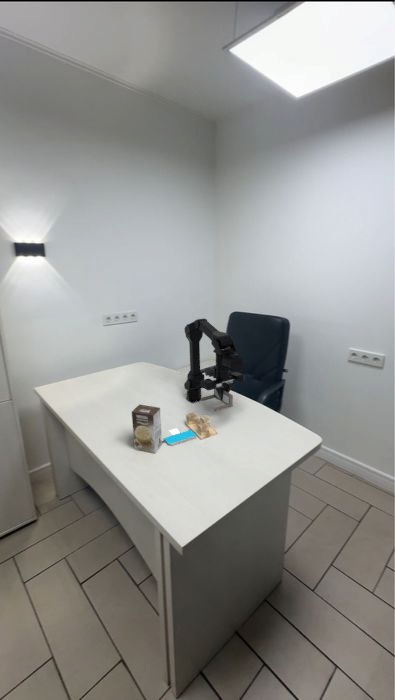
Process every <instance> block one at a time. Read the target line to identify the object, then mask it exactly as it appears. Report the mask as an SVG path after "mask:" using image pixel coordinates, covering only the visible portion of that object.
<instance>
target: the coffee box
mask: <svg viewBox="0 0 395 700" xmlns="http://www.w3.org/2000/svg"><path fill="white" fill-rule="evenodd" d="M161 418H162V417H161V408H160V407H157V406H152V405H147V404H146V405H144V404H140V403H139V404H138V405H137V406H136V407H135V408H134V409H133V410H131V420H132V432H133V433H132V434H133V445H134V450H136V451H142V452H147V453H151V454H156V453H157V452H158V450H159V449H160V448H161V447H162V445H163V443H162V441H163V438H162V420H161Z"/></svg>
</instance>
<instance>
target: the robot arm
mask: <svg viewBox="0 0 395 700" xmlns="http://www.w3.org/2000/svg"><path fill="white" fill-rule="evenodd" d="M184 333H185V338H186V339H187V341H188V343H189V345H188V346H189V362H190V363H189V366H190V368H189V371H188V373H187V378H186V381H185V382H184V384H183V385H184V389H185V390H186V400H188V402H190V403H191V404H192V403H193V404H194V403H197V402H201V401H200V398H202V389H204V390H206V391H212V390H213V391H214V389H216V390H217V393H218V395H219V398H220V400H222V399H223V392H224V391H226V392H228V393H230V391H231V390H232V389H233V387H234V386H235V385H236V384H235V383H234V381H237V382H238V383H243V382H245V376H244V374H242V373H240V371H241V370H242V368H243V365H244V361H243V359H242V358H241V357H239V356H240V355H239V354H238V353H237V351H238V350H237V347H236V344H235V343H234V340H233V338H232V336H231V335H230V334H229V333H228V332H227V333H226V332H225V331H224V332H223V331H220V330H218V329H217V328H216V327H215V326H214V325H212V323H210V322H209V321H208V319H207V318H198V319H197V318H196V320H194V321H192V322H190V323H188V324H186V325H185V326H184ZM204 335H205V336H206V337H208V339H209V340H210V341H211V345H212V347H213V349H214V350H213V353H215V365H214V367H213V368H211V367H207V368H206V367H205V369H204V373H203V372H202V371H201V356H200V355H201V354H200V353H201V352H200V351H201V350H200V347H201V345H200V342H201V340H202V338H203V336H204ZM205 376H206V377H207V376H208V377H209V378H205ZM210 377H212V379H214V380H212V379H211V378H210Z"/></svg>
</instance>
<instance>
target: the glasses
mask: <svg viewBox="0 0 395 700" xmlns="http://www.w3.org/2000/svg"><path fill="white" fill-rule="evenodd" d="M233 397H234V396H233V394H231V393H230V392H229V393H228V392H226V391H224V392H223V399H222V400H220V398H219V395H218V393H217V390H216V389H213V394H210V395H207V396H203V397H201V398H200V401H199V402H204V401H208V400H212V399H216V400H218V401H219V402H221V403H222V404H223V405H219V406H216V407H214V409H213V411H214V412H218V411H222V410H225V409H229V408H232V407H233V406H234V405H233V404H234V399H233Z"/></svg>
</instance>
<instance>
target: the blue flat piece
mask: <svg viewBox="0 0 395 700" xmlns="http://www.w3.org/2000/svg"><path fill="white" fill-rule="evenodd" d="M168 432H169V433H170V434H171V435H169V436H166V437H163V439H162V444H166V445H169V446H170V447H174V446H177V445H180V444H183V443H187V442H188V441H193V440H195V439H196V438H197V436H196V435H195V434H194V433H193V432H192V431H191V430H190V429H189V430H185V431H182V432H180V430H179V429H178V428H177V427H175V428H172V429H168ZM196 440H197V439H196Z"/></svg>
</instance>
